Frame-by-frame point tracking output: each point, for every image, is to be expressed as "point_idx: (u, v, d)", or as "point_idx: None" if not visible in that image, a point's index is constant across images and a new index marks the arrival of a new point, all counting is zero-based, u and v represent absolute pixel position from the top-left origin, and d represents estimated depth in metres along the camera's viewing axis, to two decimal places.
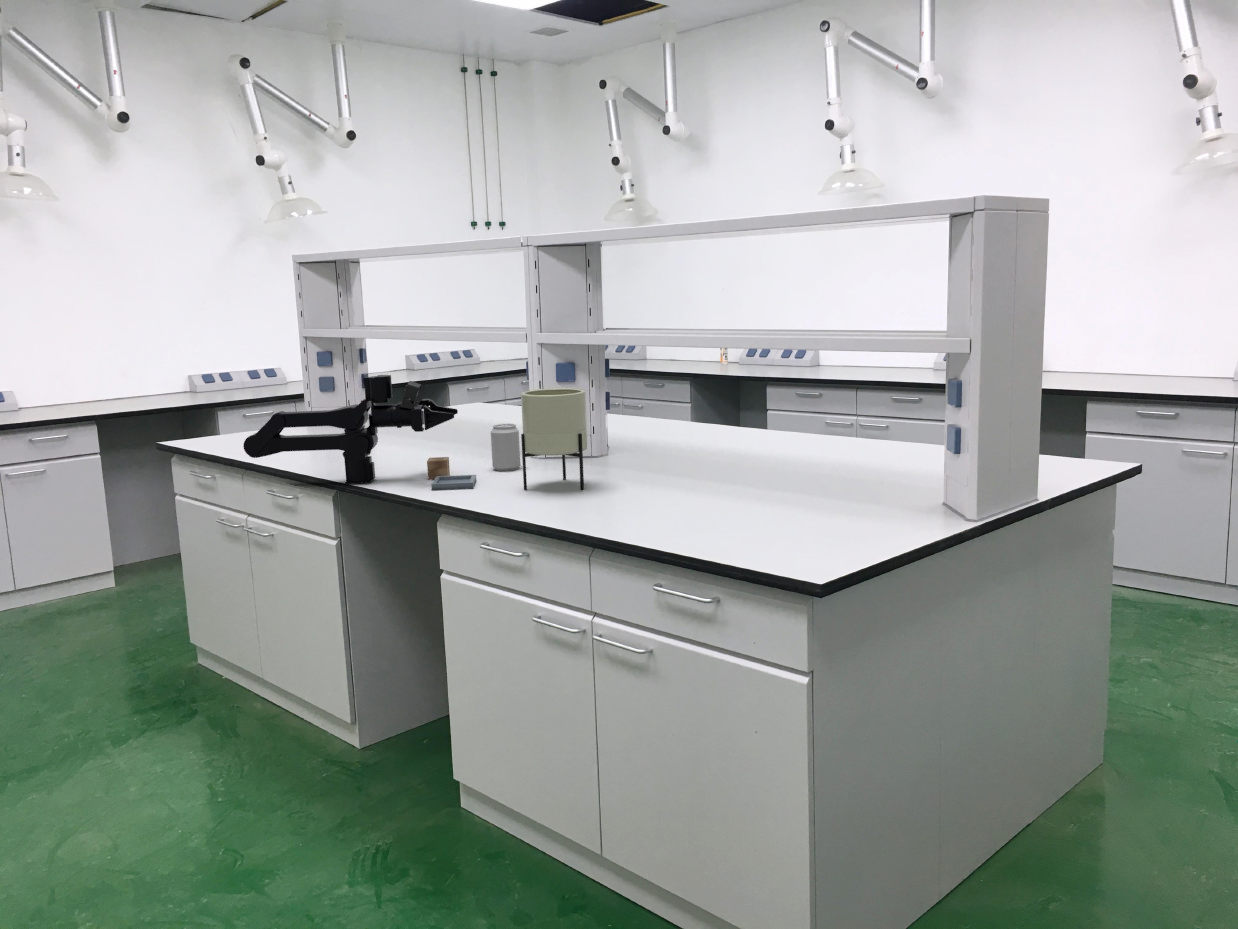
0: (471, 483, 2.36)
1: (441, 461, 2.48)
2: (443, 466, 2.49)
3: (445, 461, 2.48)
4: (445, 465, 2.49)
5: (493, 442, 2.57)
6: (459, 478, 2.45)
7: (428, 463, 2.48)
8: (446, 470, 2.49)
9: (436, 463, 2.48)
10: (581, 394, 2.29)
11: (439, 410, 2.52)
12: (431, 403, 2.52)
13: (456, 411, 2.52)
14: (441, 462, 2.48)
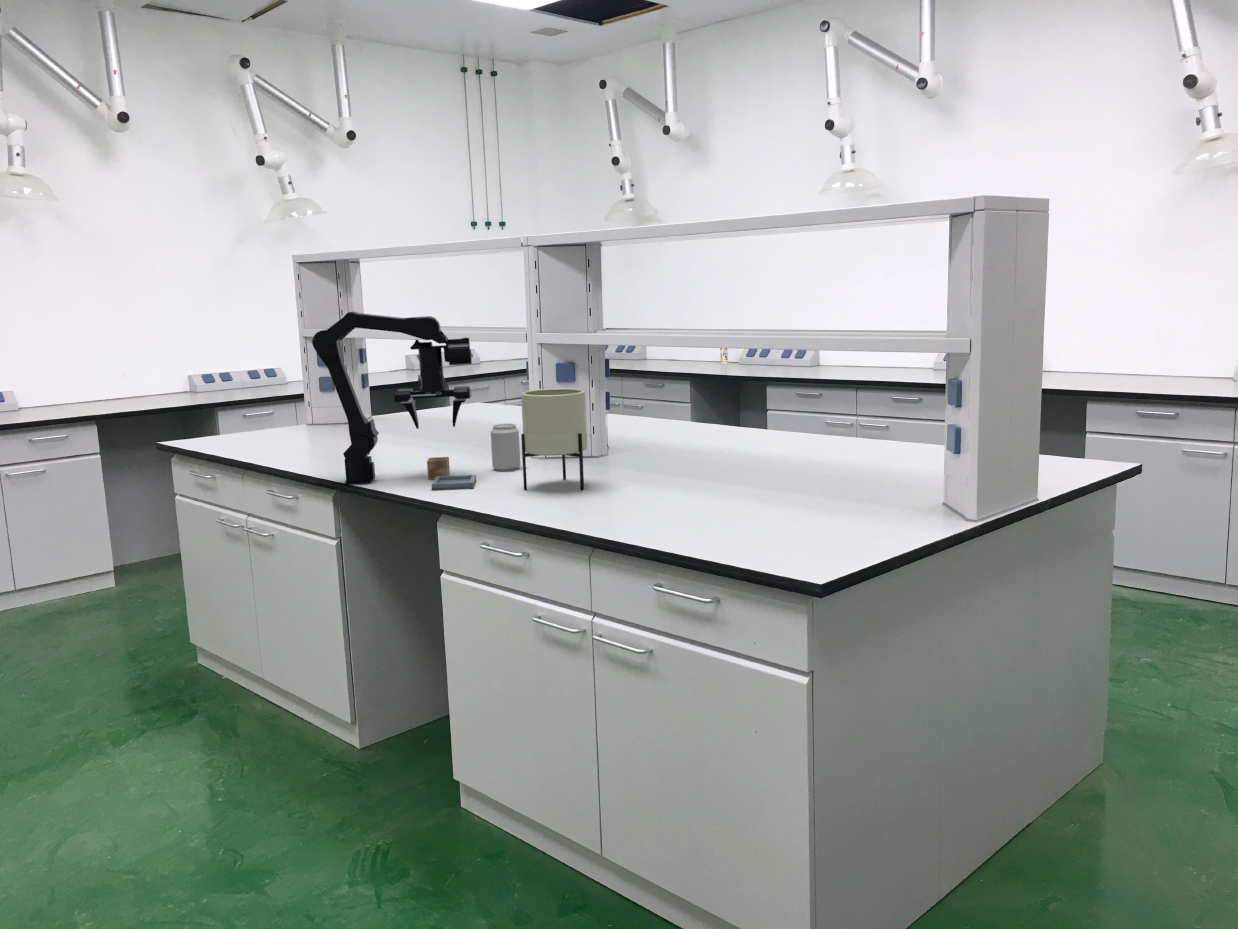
0: (471, 483, 2.36)
1: (441, 461, 2.48)
2: (443, 466, 2.49)
3: (445, 461, 2.48)
4: (445, 465, 2.49)
5: (493, 442, 2.57)
6: (459, 478, 2.45)
7: (428, 463, 2.48)
8: (446, 470, 2.49)
9: (436, 463, 2.48)
10: (581, 394, 2.29)
11: (415, 410, 2.48)
12: (414, 401, 2.50)
13: (417, 427, 2.49)
14: (441, 462, 2.48)
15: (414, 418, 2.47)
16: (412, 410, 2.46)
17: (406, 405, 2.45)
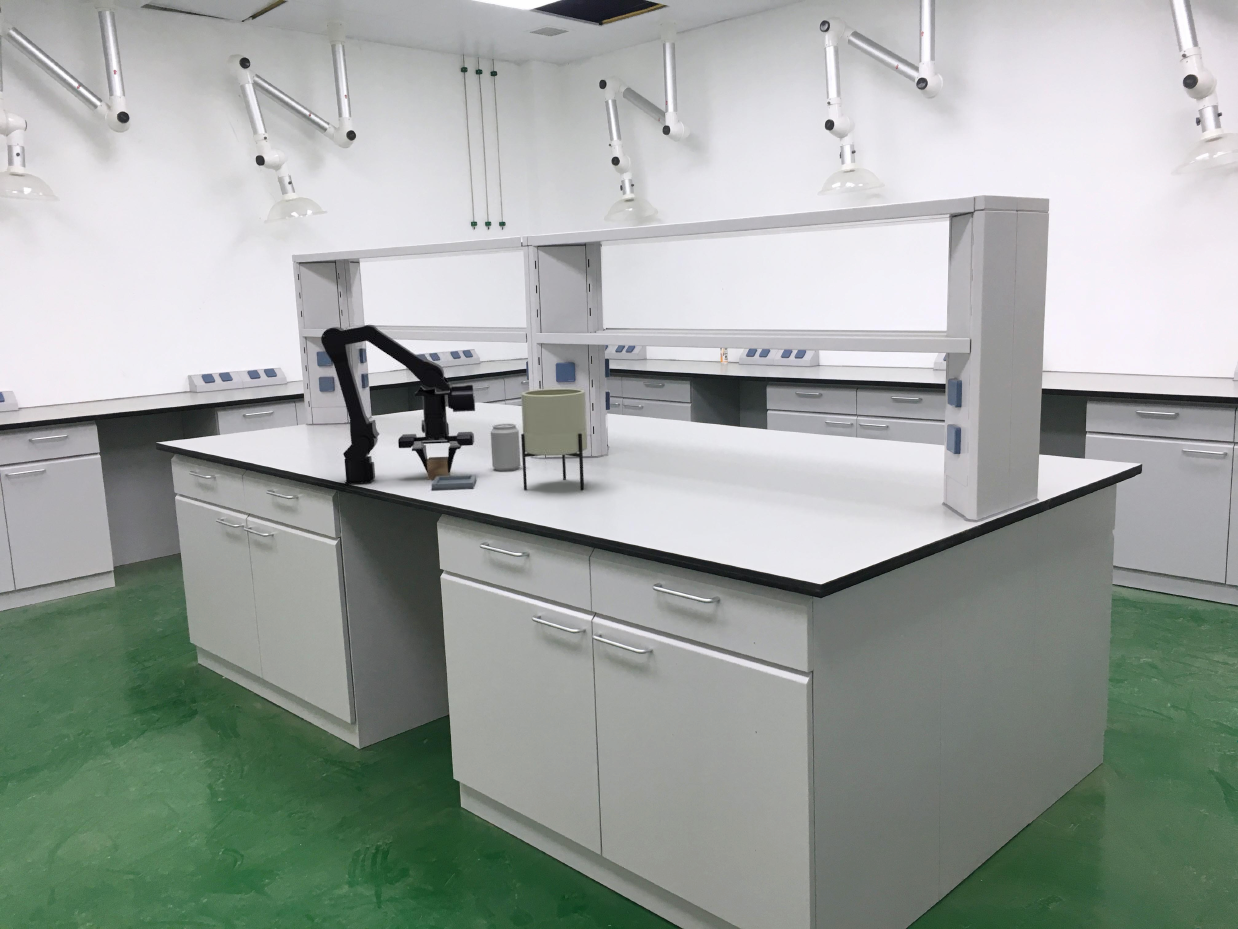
0: (471, 483, 2.36)
1: (441, 461, 2.48)
2: (443, 466, 2.49)
3: (445, 461, 2.48)
4: (445, 465, 2.49)
5: (493, 442, 2.57)
6: (459, 478, 2.45)
7: (428, 463, 2.48)
8: (446, 470, 2.49)
9: (436, 462, 2.48)
10: (581, 394, 2.29)
11: (426, 455, 2.51)
12: (425, 446, 2.52)
13: None
14: (441, 462, 2.48)
15: (425, 463, 2.49)
16: (423, 456, 2.48)
17: (417, 451, 2.47)
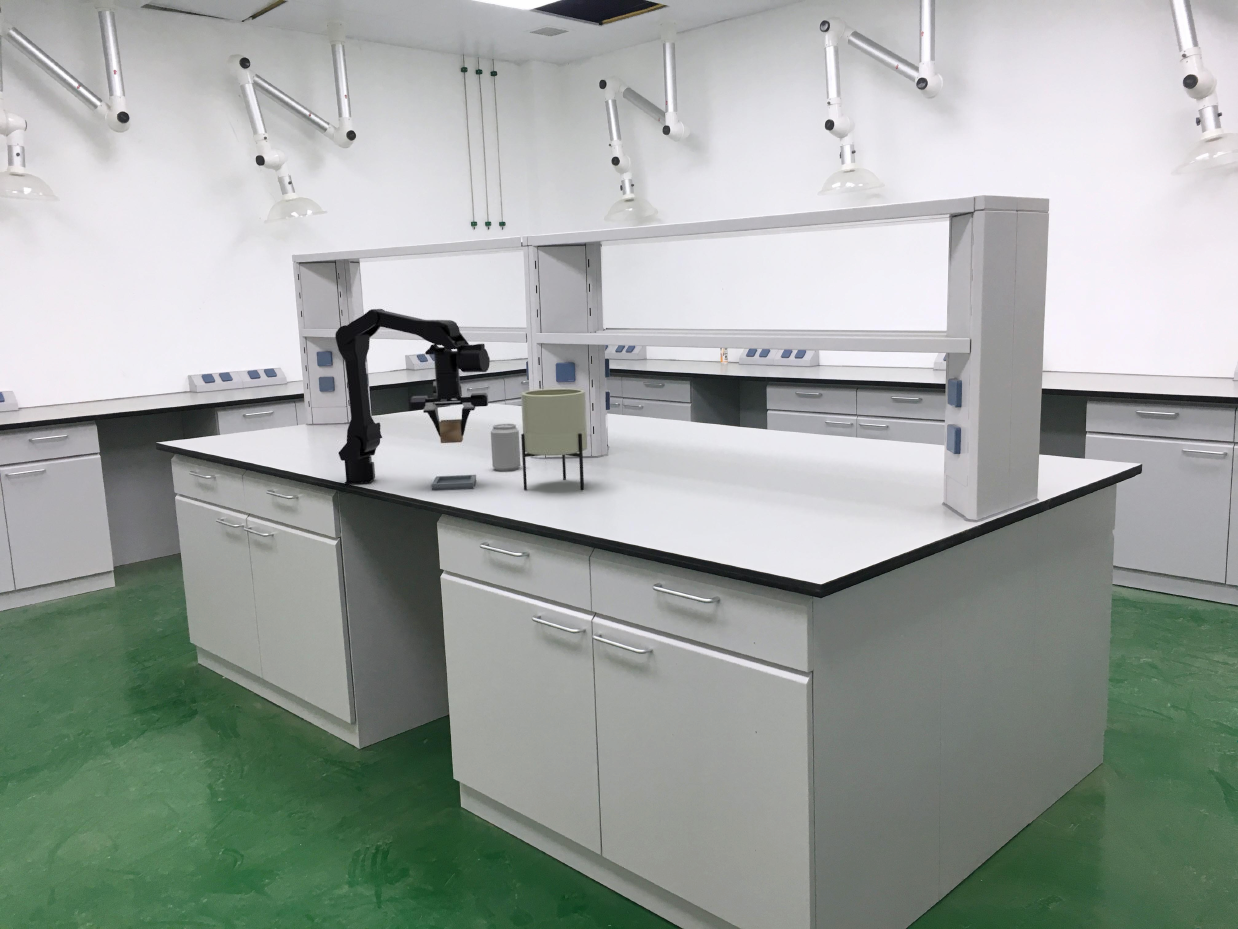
0: (471, 483, 2.36)
1: (454, 423, 2.36)
2: (456, 428, 2.37)
3: (458, 423, 2.36)
4: (458, 427, 2.37)
5: (493, 442, 2.57)
6: (459, 478, 2.45)
7: (440, 425, 2.36)
8: (459, 432, 2.37)
9: (449, 425, 2.36)
10: (581, 394, 2.29)
11: (438, 417, 2.39)
12: (437, 409, 2.40)
13: None
14: (454, 424, 2.36)
15: (437, 426, 2.37)
16: (435, 418, 2.36)
17: (429, 412, 2.35)
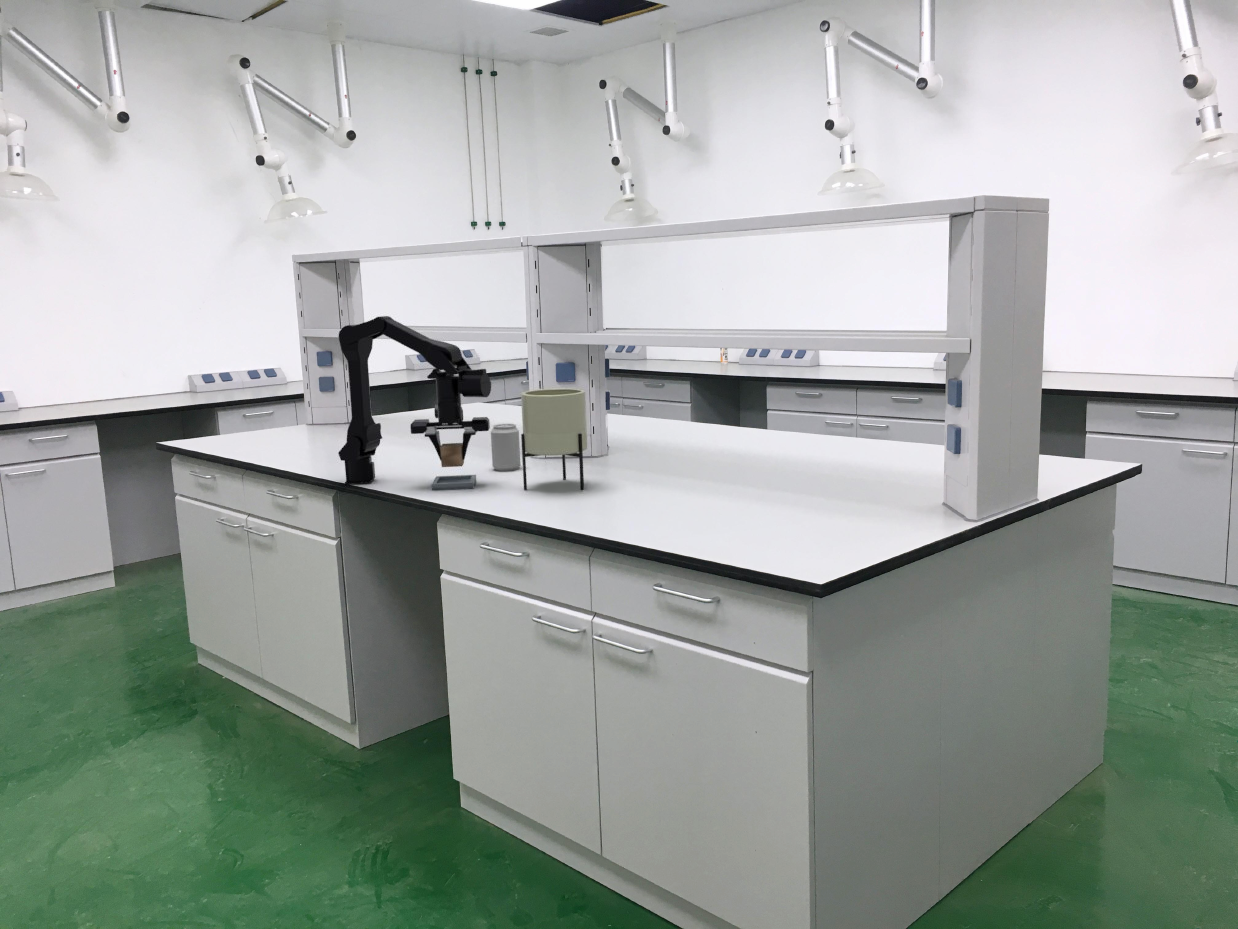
0: (471, 483, 2.36)
1: (455, 447, 2.37)
2: (457, 452, 2.37)
3: (459, 447, 2.37)
4: (459, 451, 2.37)
5: (493, 442, 2.57)
6: (459, 478, 2.45)
7: (441, 449, 2.37)
8: (460, 456, 2.38)
9: (450, 449, 2.37)
10: (581, 394, 2.29)
11: (439, 441, 2.39)
12: (438, 432, 2.41)
13: None
14: (455, 448, 2.37)
15: (438, 450, 2.38)
16: (436, 442, 2.37)
17: (430, 437, 2.36)
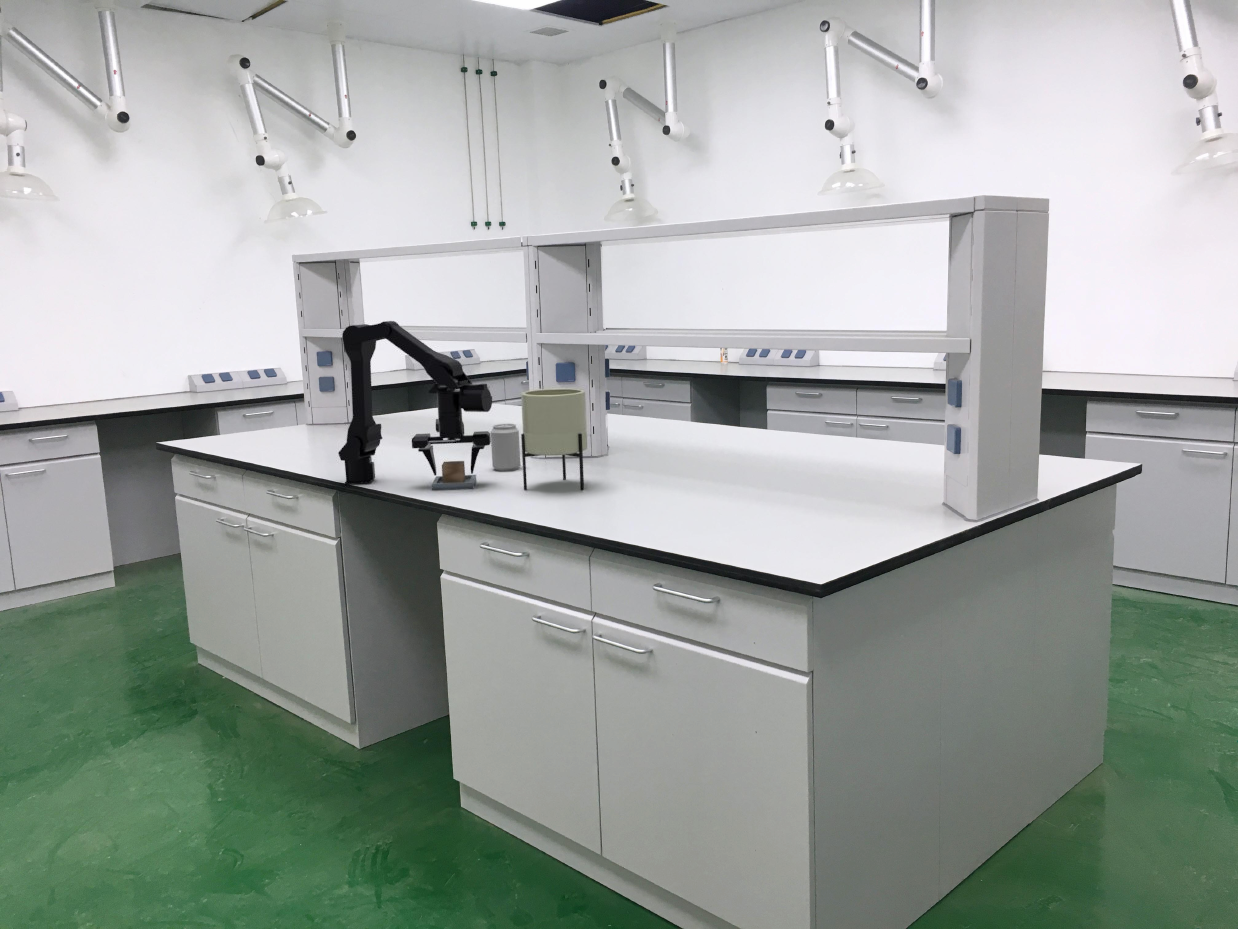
0: (471, 483, 2.36)
1: (456, 465, 2.38)
2: (458, 470, 2.38)
3: (461, 465, 2.38)
4: (460, 469, 2.38)
5: (493, 442, 2.57)
6: None
7: (443, 467, 2.38)
8: (462, 475, 2.38)
9: (451, 467, 2.38)
10: (581, 394, 2.29)
11: (433, 456, 2.40)
12: (432, 447, 2.41)
13: (435, 473, 2.40)
14: (456, 466, 2.38)
15: (432, 465, 2.38)
16: (430, 456, 2.37)
17: (424, 451, 2.36)
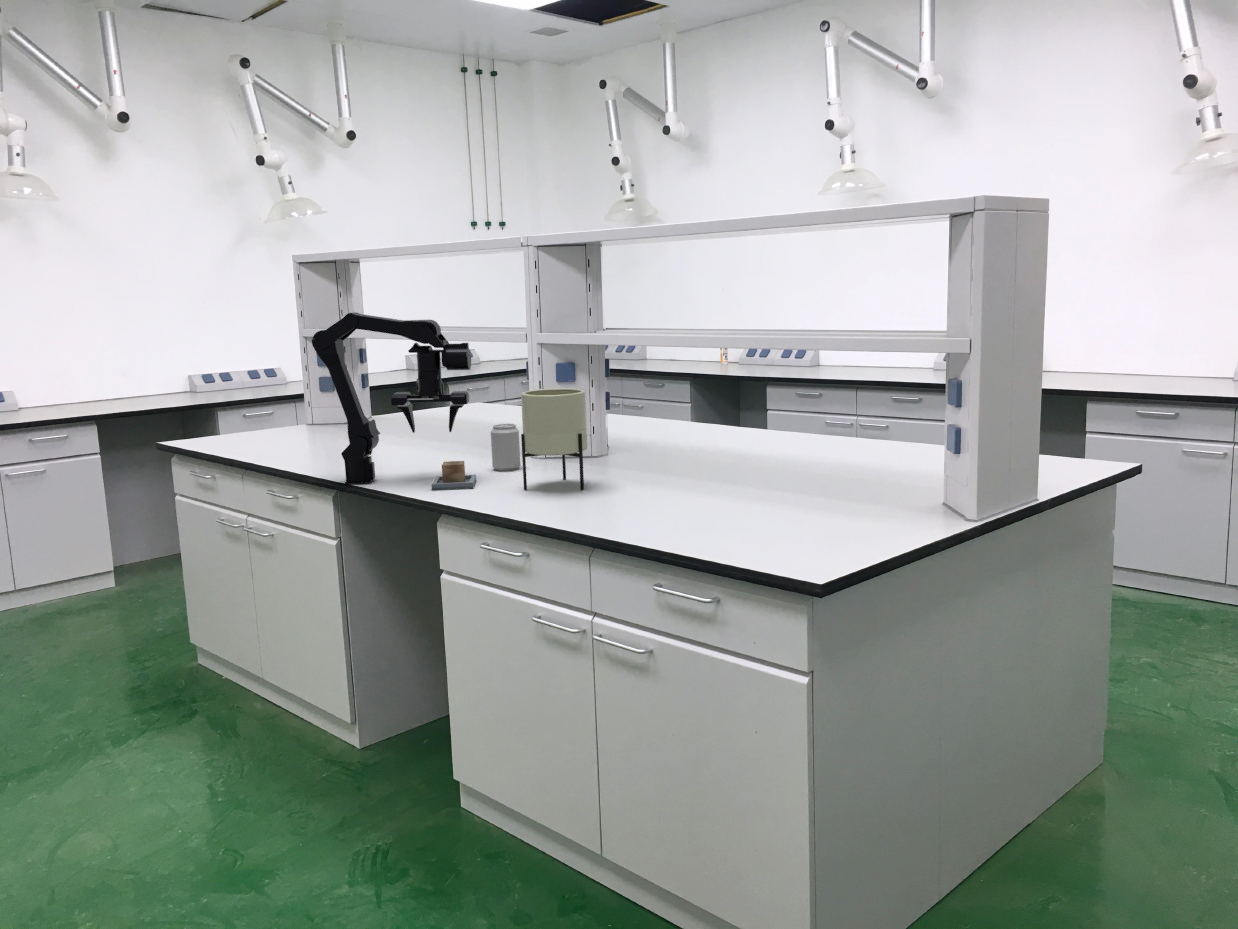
0: (471, 483, 2.36)
1: (456, 465, 2.38)
2: (458, 470, 2.38)
3: (461, 465, 2.38)
4: (460, 469, 2.38)
5: (493, 442, 2.57)
6: None
7: (443, 467, 2.38)
8: (462, 475, 2.38)
9: (451, 467, 2.38)
10: (581, 394, 2.29)
11: (412, 414, 2.46)
12: None
13: (414, 431, 2.47)
14: (456, 466, 2.38)
15: (410, 422, 2.45)
16: (408, 414, 2.43)
17: (402, 409, 2.43)
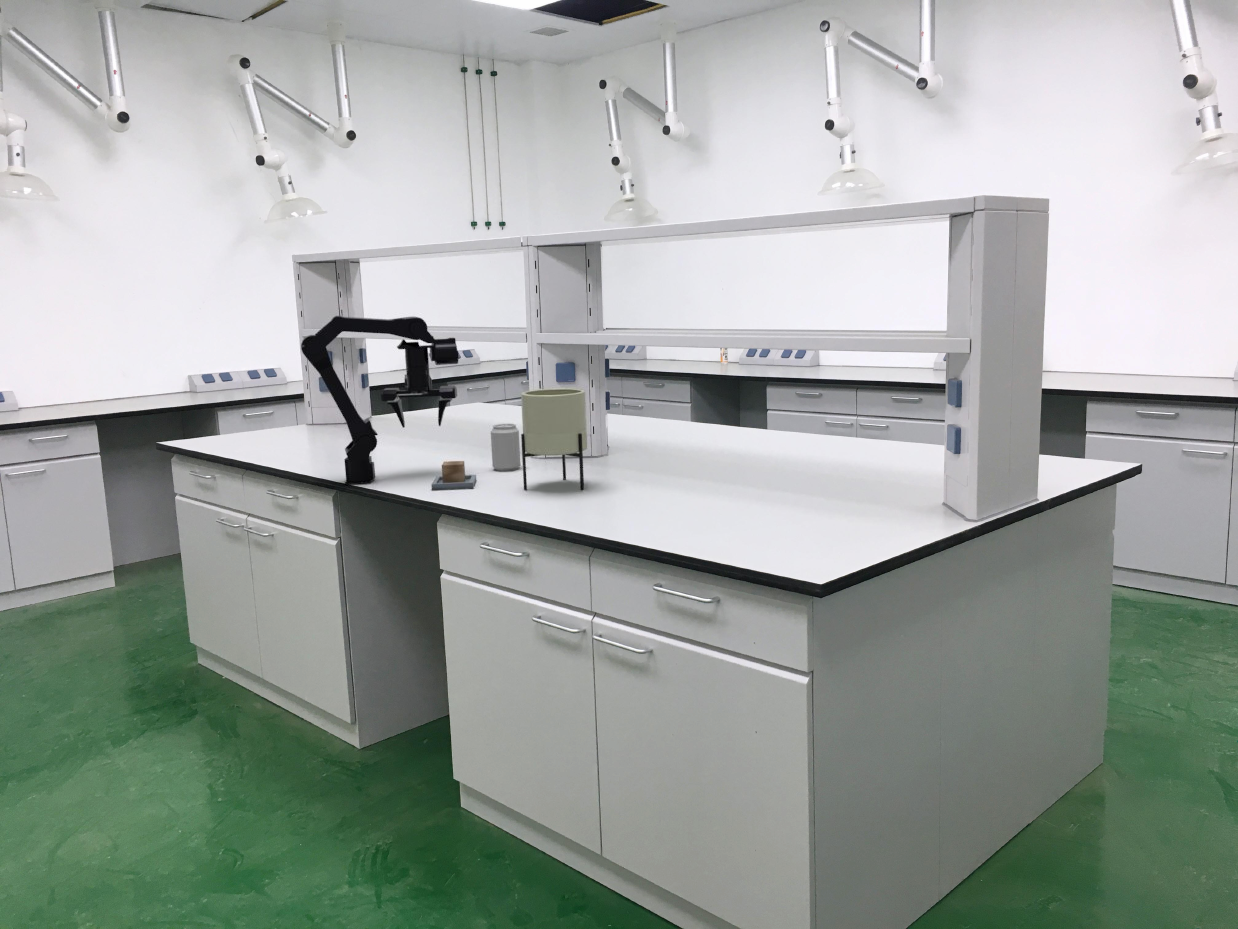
0: (471, 483, 2.36)
1: (456, 465, 2.38)
2: (458, 470, 2.38)
3: (461, 465, 2.38)
4: (460, 469, 2.38)
5: (493, 442, 2.57)
6: None
7: (443, 467, 2.38)
8: (462, 475, 2.38)
9: (451, 467, 2.38)
10: (581, 394, 2.29)
11: (401, 409, 2.51)
12: None
13: (403, 426, 2.52)
14: (456, 466, 2.38)
15: (400, 417, 2.50)
16: (398, 409, 2.48)
17: (392, 404, 2.48)
